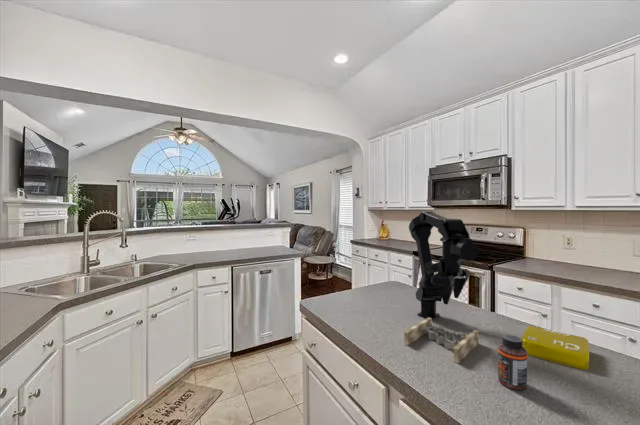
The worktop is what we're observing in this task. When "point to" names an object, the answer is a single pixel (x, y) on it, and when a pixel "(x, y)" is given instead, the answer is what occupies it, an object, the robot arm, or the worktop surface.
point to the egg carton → (441, 334)
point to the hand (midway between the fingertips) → (451, 301)
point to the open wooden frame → (467, 341)
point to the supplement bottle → (512, 363)
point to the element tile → (556, 347)
